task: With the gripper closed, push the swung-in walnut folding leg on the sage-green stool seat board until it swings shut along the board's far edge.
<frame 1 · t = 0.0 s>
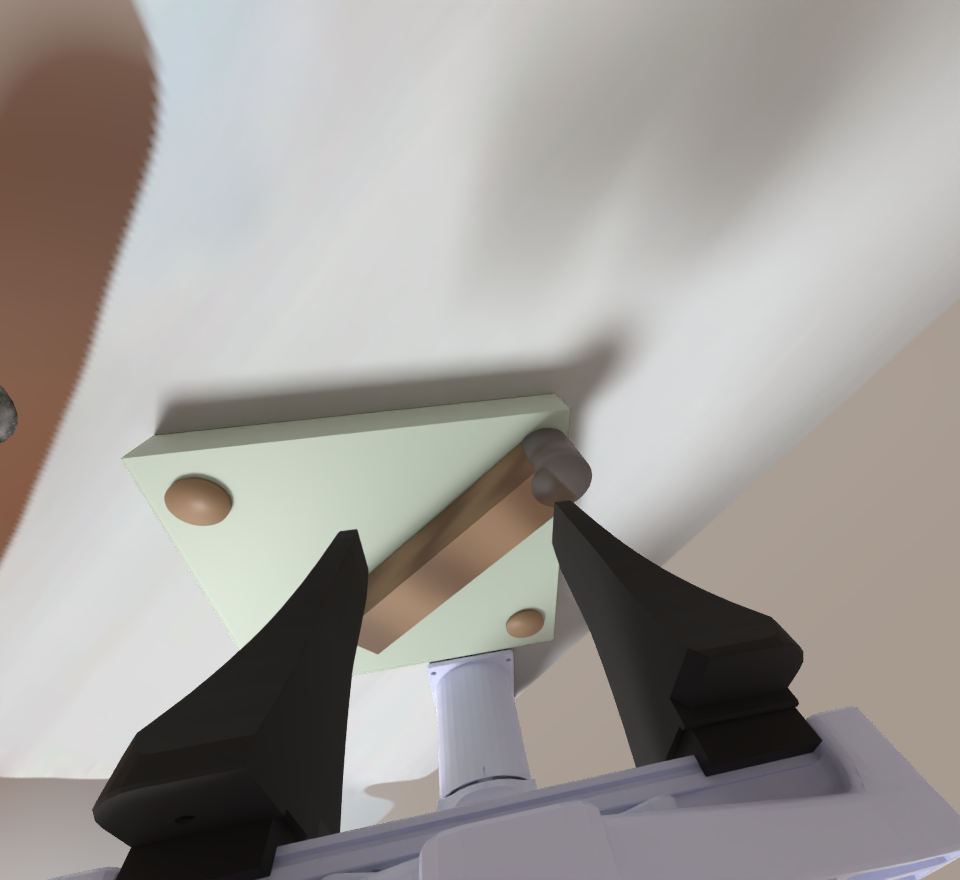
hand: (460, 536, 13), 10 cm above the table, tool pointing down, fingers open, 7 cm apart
folding leg: (458, 543, 21), point 4 cm above the table, hinge at 40.0°
stool seat: (395, 545, 26), on the table
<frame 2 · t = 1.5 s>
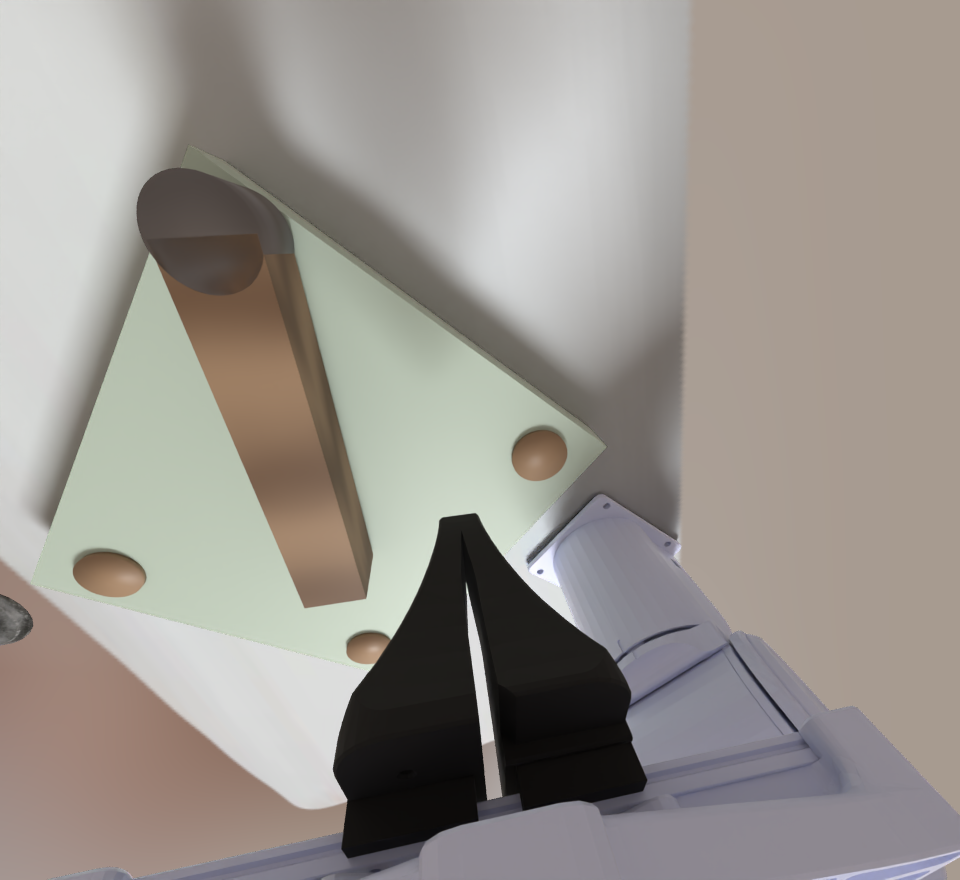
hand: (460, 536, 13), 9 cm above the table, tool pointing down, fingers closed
folding leg: (292, 433, 15), point 4 cm above the table, hinge at 40.0°
stool seat: (337, 486, 21), on the table
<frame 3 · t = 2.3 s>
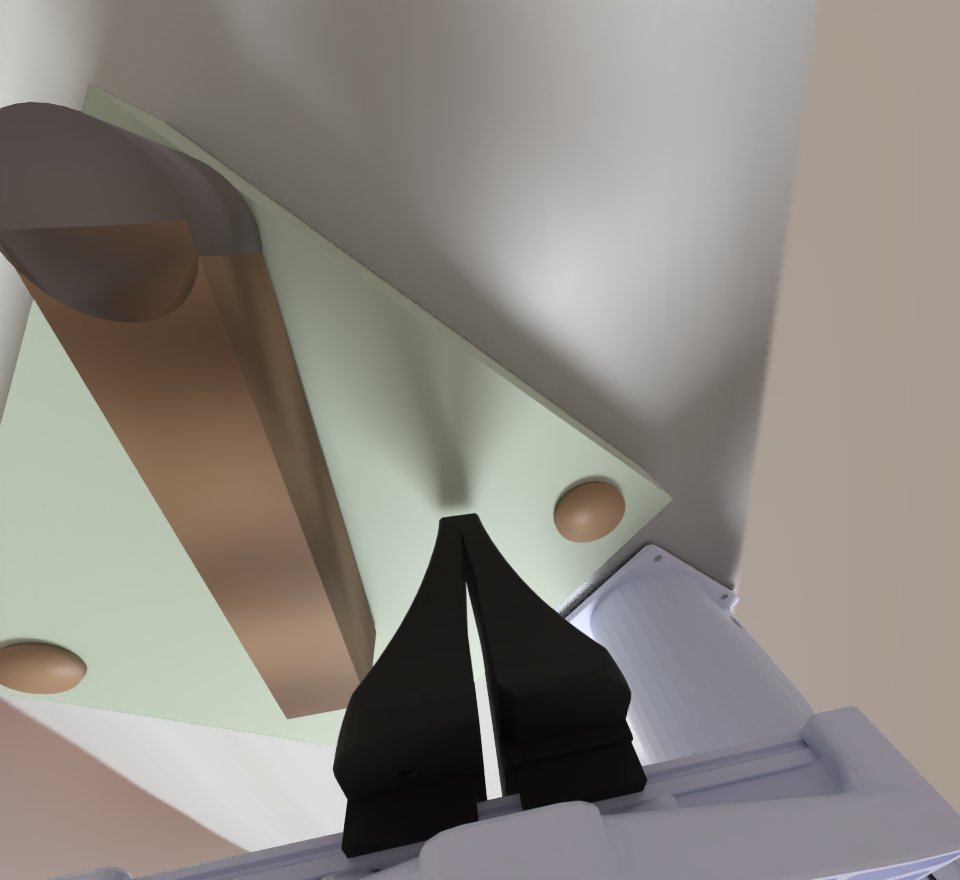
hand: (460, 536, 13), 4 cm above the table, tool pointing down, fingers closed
folding leg: (265, 505, 11), point 4 cm above the table, hinge at 40.0°
stool seat: (331, 544, 17), on the table
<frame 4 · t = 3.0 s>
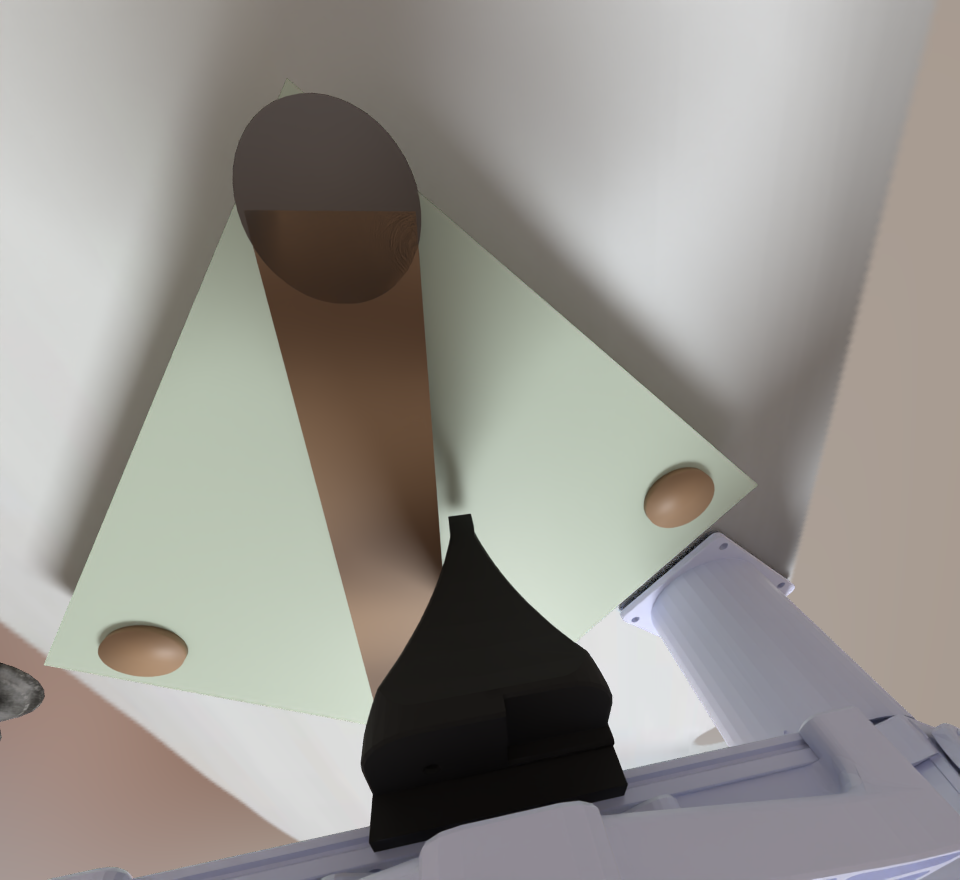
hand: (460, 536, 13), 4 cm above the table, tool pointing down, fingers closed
folding leg: (387, 488, 11), point 4 cm above the table, hinge at 37.1°, touching gripper
stool seat: (415, 531, 18), on the table
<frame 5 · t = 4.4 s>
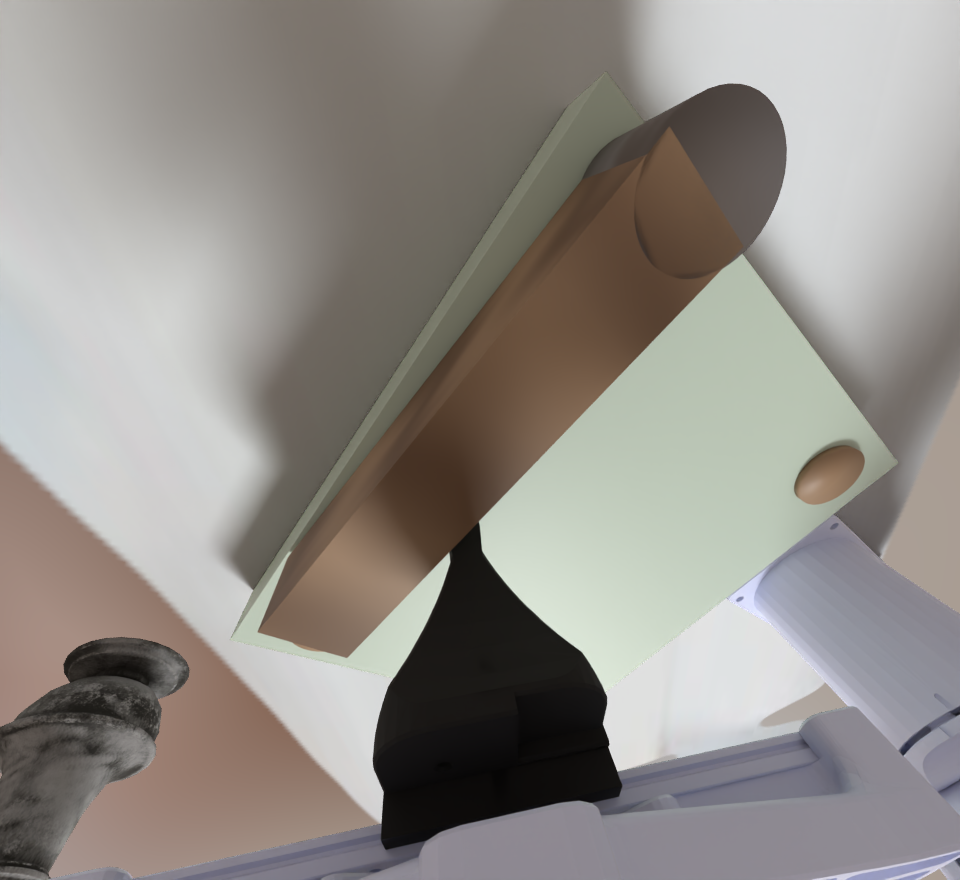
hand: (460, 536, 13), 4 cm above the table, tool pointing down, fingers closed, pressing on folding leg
salt shaker: (132, 665, 19), on the table
folding leg: (471, 424, 10), point 4 cm above the table, hinge at -3.4°, touching gripper
stool seat: (560, 511, 18), on the table
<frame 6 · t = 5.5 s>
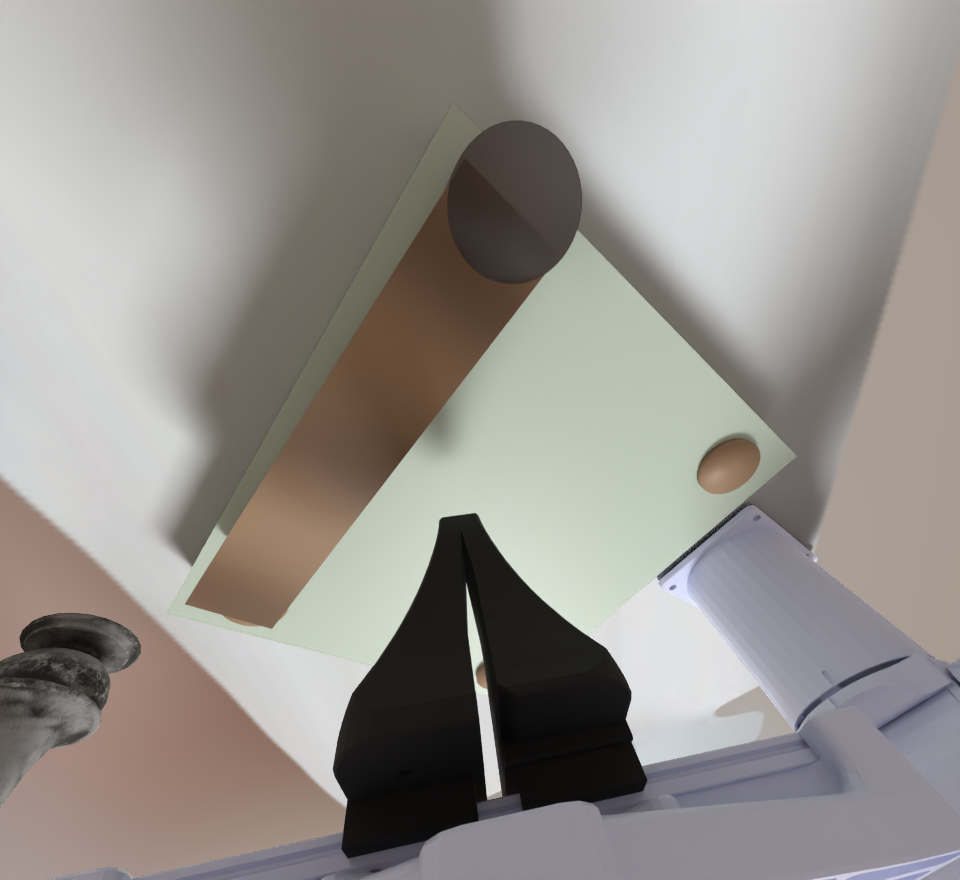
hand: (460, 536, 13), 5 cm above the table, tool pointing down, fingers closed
salt shaker: (86, 641, 20), on the table
folding leg: (363, 416, 12), point 4 cm above the table, hinge at -1.4°
stool seat: (485, 499, 19), on the table
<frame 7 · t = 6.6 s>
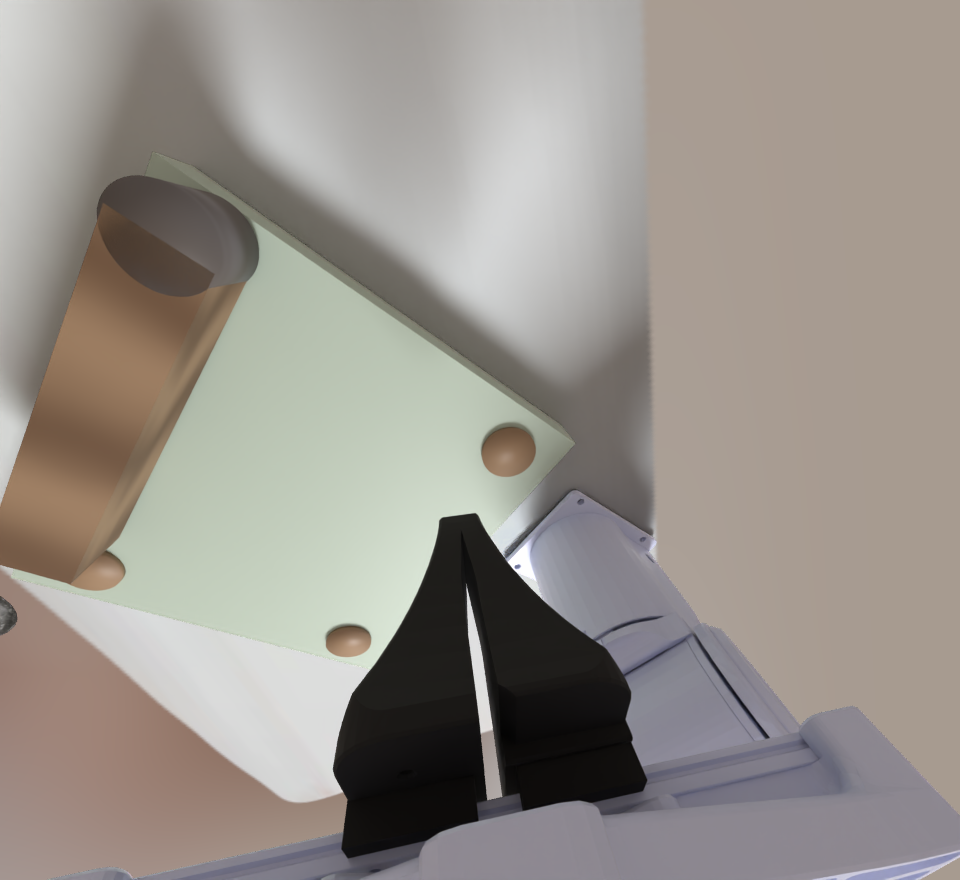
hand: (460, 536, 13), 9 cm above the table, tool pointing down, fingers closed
folding leg: (120, 403, 14), point 4 cm above the table, hinge at -1.4°
stool seat: (314, 482, 22), on the table
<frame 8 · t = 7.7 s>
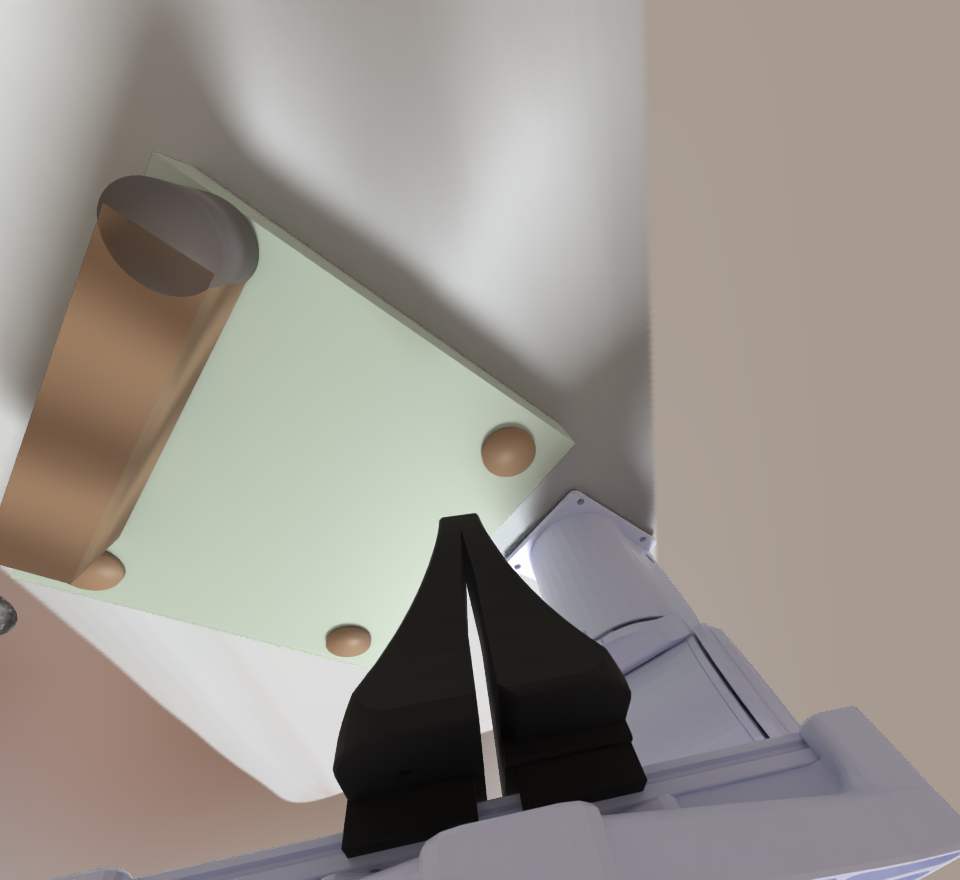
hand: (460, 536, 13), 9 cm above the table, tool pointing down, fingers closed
folding leg: (120, 403, 14), point 4 cm above the table, hinge at -1.4°
stool seat: (314, 482, 22), on the table
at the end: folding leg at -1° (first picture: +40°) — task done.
